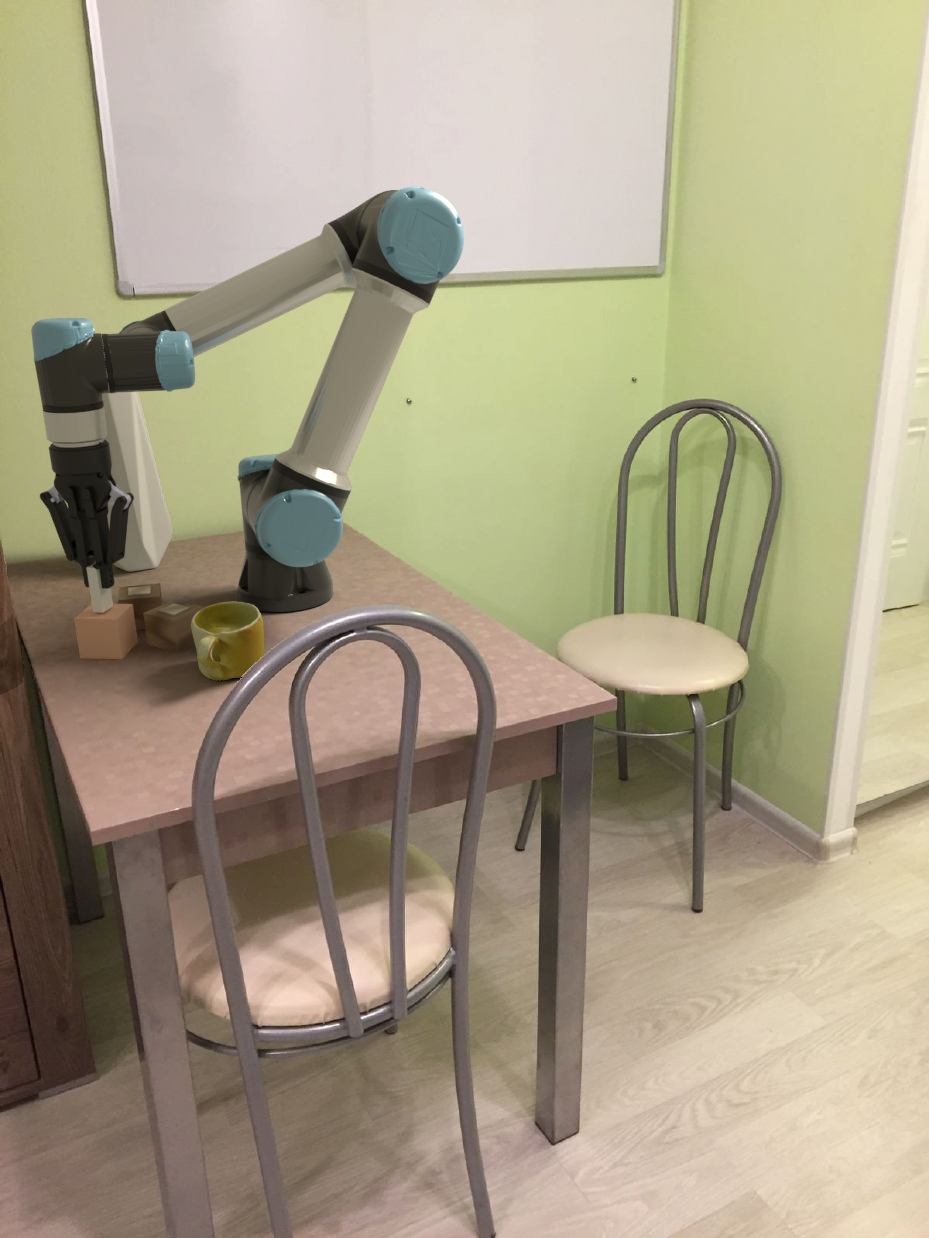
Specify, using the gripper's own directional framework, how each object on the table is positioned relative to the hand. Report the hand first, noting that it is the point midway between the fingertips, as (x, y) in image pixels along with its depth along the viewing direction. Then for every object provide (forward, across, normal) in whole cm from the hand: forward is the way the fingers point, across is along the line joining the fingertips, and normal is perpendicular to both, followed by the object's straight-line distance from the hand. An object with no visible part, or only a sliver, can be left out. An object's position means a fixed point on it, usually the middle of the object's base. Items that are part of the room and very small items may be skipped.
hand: (103, 608), depth 141 cm
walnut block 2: (+6, -8, -5) cm, 11 cm away
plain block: (+6, 0, 0) cm, 6 cm away
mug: (+7, -20, +4) cm, 21 cm away
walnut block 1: (+6, +1, -11) cm, 13 cm away
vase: (+6, +16, -36) cm, 40 cm away
